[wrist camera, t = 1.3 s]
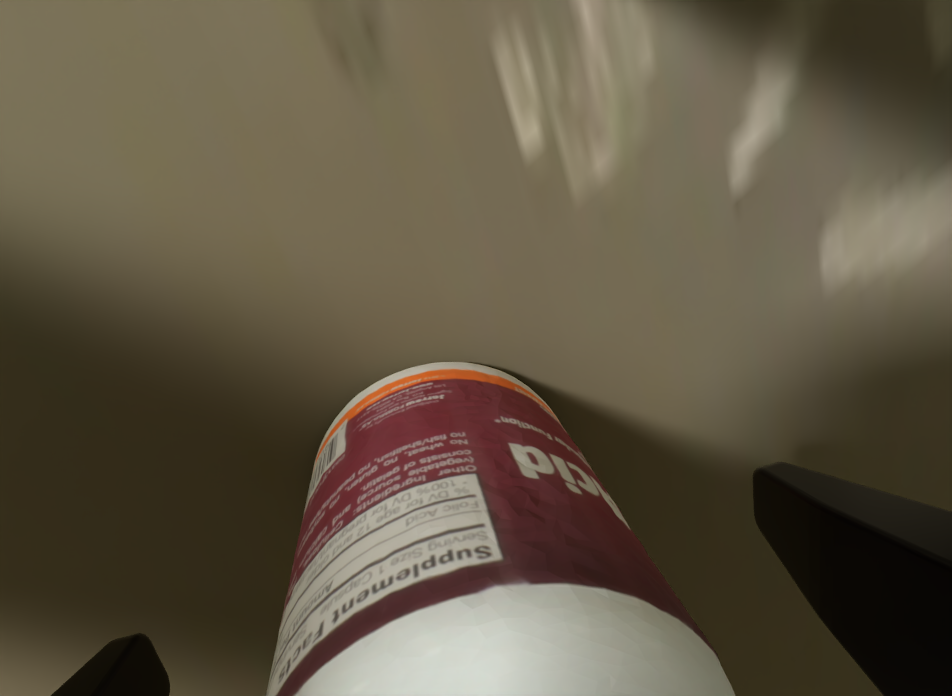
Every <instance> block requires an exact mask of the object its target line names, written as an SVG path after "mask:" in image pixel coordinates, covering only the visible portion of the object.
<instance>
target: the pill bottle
mask: <svg viewBox="0 0 952 696" xmlns="http://www.w3.org/2000/svg"><path fill="white" fill-rule="evenodd" d="M266 696H735V694H734V691H733V689H732V686H731V684H730V682H729V680H728V678H727V676H726V674H725V672H724V670H723V669H722V667H721V664H720V661H719V658H718V655H717V653H716V652H715V650H714V649H713V647H712V646H711V644H710V643H709V641H708V640H707V638H706V637H705V635H704V634H703V633H702V631H701V630H700V629H699V628H698V626H697V625H696V624H695V622H694V621H693V619H692V618H691V617H690V615H689V614H688V612H687V611H686V609H685V608H684V606H683V605H682V603H681V602H680V600H679V599H678V598H677V596H676V595H675V593H674V592H673V590H672V589H671V587H670V586H669V584H668V583H667V582H666V580H665V579H664V577H663V576H662V574H661V573H660V572H659V570H658V569H657V567H656V566H655V564H654V563H653V562H652V560H651V559H650V557H649V556H648V554H647V552H646V551H645V549H644V547H643V545H642V544H641V543H640V541H639V540H638V539H637V537H636V536H635V534H634V533H633V531H632V530H631V528H630V527H629V525H628V524H627V522H626V520H625V518H624V517H623V515H622V513H621V511H620V509H619V507H618V506H617V505H616V504H615V502H614V501H613V500H612V499H611V497H610V495H609V494H608V492H607V490H606V489H605V488H604V487H603V485H602V484H601V482H600V480H599V479H598V478H597V476H596V475H595V473H594V472H593V470H592V469H591V467H590V465H589V464H588V463H587V461H586V459H585V458H584V456H583V454H582V453H581V451H580V449H579V448H578V447H577V446H576V445H575V443H574V442H573V440H572V439H571V438H570V437H569V435H568V433H567V432H566V430H565V429H564V428H563V426H562V425H561V423H560V422H559V420H558V418H557V417H556V415H555V414H554V413H553V411H552V410H551V409H550V407H549V406H548V405H547V404H546V402H545V401H544V400H542V399H541V398H540V397H539V396H538V395H537V394H536V393H535V392H534V391H533V390H532V389H530V388H529V387H528V386H527V385H525V384H524V383H522V382H521V381H519V380H518V379H516V378H515V377H513V376H511V375H509V374H507V373H505V372H502V371H500V370H497V369H494V368H491V367H487V366H483V365H479V364H473V363H467V362H438V363H430V364H424V365H420V366H415V367H411V368H408V369H405V370H403V371H400V372H397V373H394V374H392V375H390V376H388V377H385V378H384V379H382V380H380V381H378V382H376V383H374V384H373V385H371V386H370V387H368V388H367V389H365V390H364V391H362V392H360V393H359V394H358V395H356V396H355V397H354V398H353V399H352V400H351V401H350V402H349V403H348V404H347V405H346V406H345V408H344V409H343V410H342V411H341V412H340V413H339V414H338V416H337V417H336V418H335V420H334V421H333V423H332V424H331V426H330V428H329V429H328V431H327V433H326V435H325V436H324V438H323V441H322V443H321V445H320V448H319V451H318V454H317V457H316V460H315V463H314V468H313V473H312V479H311V482H310V486H309V491H308V496H307V501H306V505H305V511H304V516H303V520H302V525H301V530H300V534H299V538H298V542H297V548H296V551H295V555H294V562H293V566H292V572H291V577H290V583H289V587H288V592H287V596H286V600H285V605H284V610H283V615H282V620H281V624H280V628H279V635H278V641H277V646H276V650H275V655H274V660H273V664H272V669H271V674H270V678H269V683H268V688H267V692H266Z"/></svg>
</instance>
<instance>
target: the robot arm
mask: <svg viewBox="0 0 952 696" xmlns="http://www.w3.org/2000/svg"><path fill="white" fill-rule="evenodd" d="M753 501H754V516H755V520H756V523H757V525H758V527H759V529H760V531H761V532H762V534H763V535H764V537H765V538H766V540H767V541H768V543H769V544H770V546H771V547H772V549H773V550H774V552H775V553H776V555H777V556H778V558H779V559H780V561H781V562H782V564H783V565H784V567H785V568H786V570H787V571H788V572H789V574H790V575H791V577H792V578H793V580H794V581H795V583H796V584H797V586H798V587H799V589H800V590H801V592H802V593H803V595H804V596H805V598H806V599H807V601H808V602H809V604H810V605H811V606H812V608H813V609H814V611H815V612H816V613H817V615H818V616H819V618H820V619H821V620H822V621H823V623H824V624H825V625H826V626H827V628H828V629H829V630H830V631H831V633H832V634H833V635H834V636H835V638H836V639H837V640H838V641H839V642H840V644H841V645H842V646H843V647H844V648H845V650H846V651H847V652H848V653H849V654H850V656H851V657H852V658H853V659H854V660H855V662H856V663H857V664H858V665H859V666H860V668H861V669H862V670H863V671H864V673H865V674H866V675H867V676H868V677H869V679H870V680H871V681H872V682H873V683H874V685H875V686H876V687H877V688H878V689H879V691H880V692H881V693H882V694H883V695H884V696H952V512H951V511H947V510H944V509H941V508H937V507H934V506H930V505H927V504H924V503H920V502H917V501H913V500H910V499H907V498H903V497H900V496H896V495H893V494H890V493H886V492H883V491H879V490H876V489H873V488H869V487H866V486H862V485H859V484H856V483H852V482H849V481H845V480H842V479H839V478H835V477H832V476H828V475H825V474H822V473H818V472H815V471H811V470H808V469H805V468H801V467H798V466H794V465H791V464H788V463H784V462H777V463H773V464H769V465H766V466H762V467H758V468H757V469H756V470H755V471H754V473H753ZM169 693H170V683H169V678H168V675H167V672H166V670H165V668H164V666H163V664H162V662H161V660H160V658H159V656H158V654H157V652H156V650H155V648H154V646H153V644H152V642H151V641H150V639H149V637H148V636H146V635H145V634H142V633H137V634H134V635H130V636H126V637H122V638H118V639H115V640H113V641H111V642H109V643H108V644H107V645H106V646H105V647H104V648H103V649H101V650H100V651H99V652H98V653H97V654H96V655H95V656H94V657H93V658H92V659H90V660H89V661H88V662H87V663H86V664H85V665H84V666H83V667H82V668H81V669H79V670H78V671H77V672H76V673H75V674H74V675H73V676H72V677H71V678H70V679H68V680H67V681H66V682H65V683H64V684H63V685H62V686H61V687H60V688H59V689H57V690H56V691H55V692H54V693H53V694H52V695H51V696H169Z"/></svg>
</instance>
